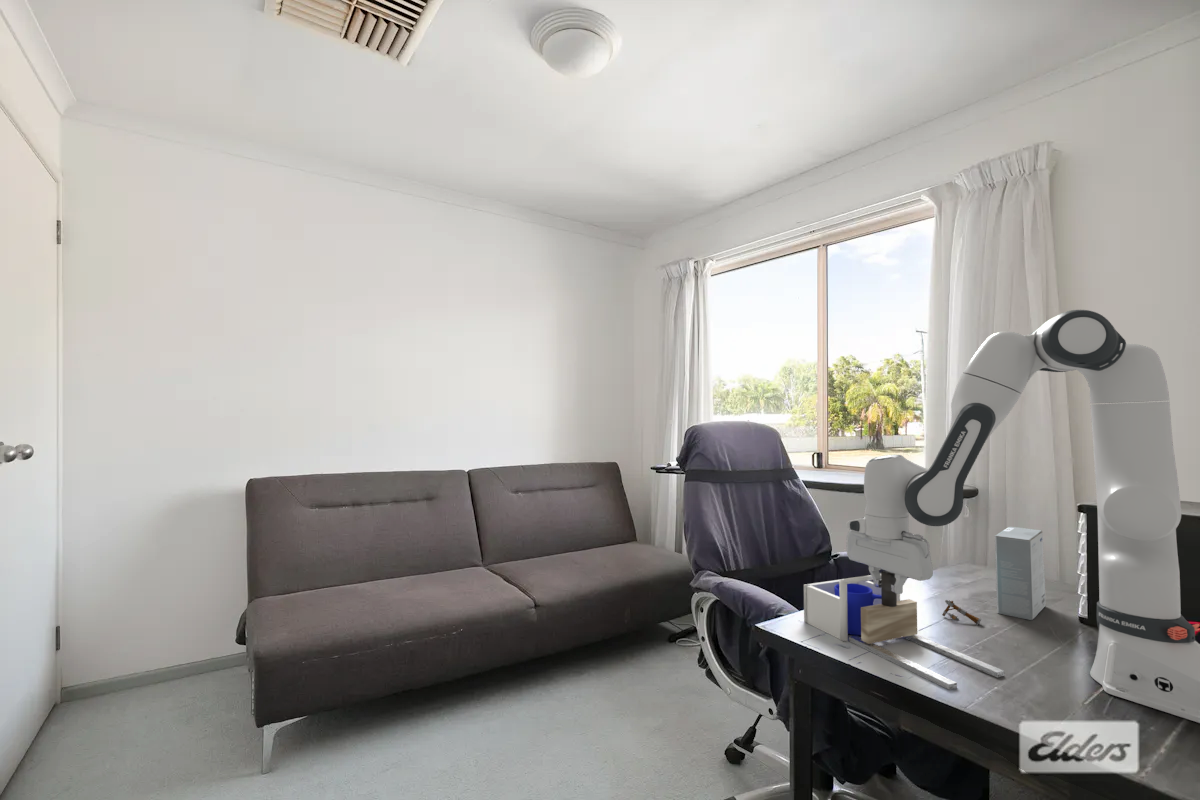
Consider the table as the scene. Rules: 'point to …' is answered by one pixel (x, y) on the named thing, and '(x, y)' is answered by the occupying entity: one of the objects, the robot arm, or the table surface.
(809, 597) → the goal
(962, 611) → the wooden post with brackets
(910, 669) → the rails
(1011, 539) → the hard drive box
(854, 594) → the mug
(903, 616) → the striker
